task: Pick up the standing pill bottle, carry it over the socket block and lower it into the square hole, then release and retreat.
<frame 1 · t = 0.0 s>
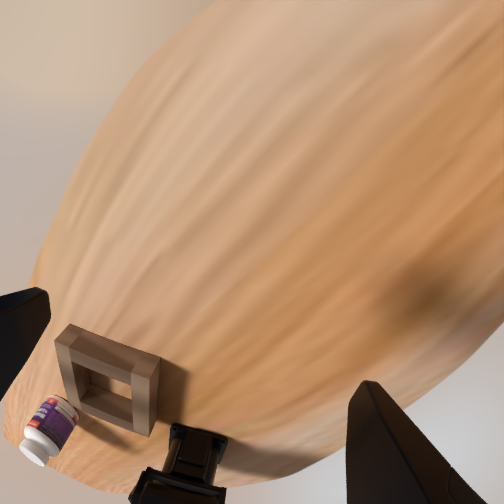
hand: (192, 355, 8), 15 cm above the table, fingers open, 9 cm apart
socket: (114, 375, 29), on the table
pill bottle: (64, 406, 34), on the table
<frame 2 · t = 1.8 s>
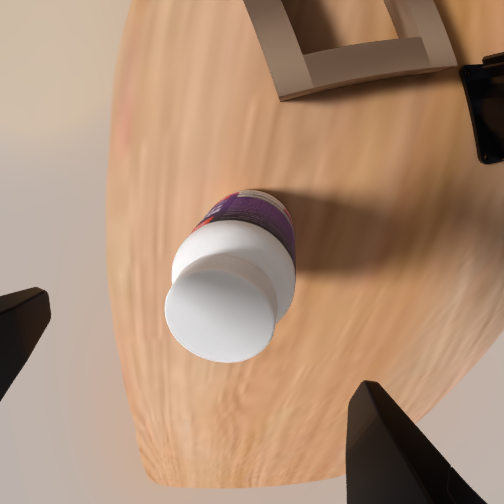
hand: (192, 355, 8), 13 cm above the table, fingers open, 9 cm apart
socket: (335, 8, 14), on the table
pill bottle: (250, 230, 20), on the table
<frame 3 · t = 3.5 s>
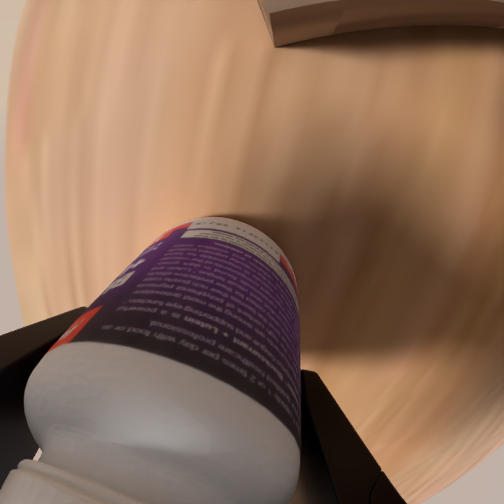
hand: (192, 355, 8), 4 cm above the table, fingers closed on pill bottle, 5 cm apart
pill bottle: (219, 286, 11), on the table, touching gripper
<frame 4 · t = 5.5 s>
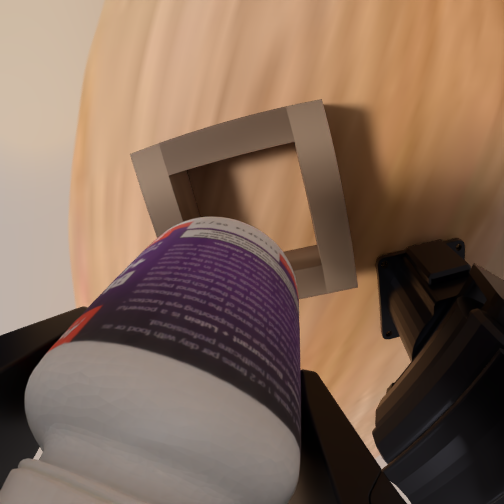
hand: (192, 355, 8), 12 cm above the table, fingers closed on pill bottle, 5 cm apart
socket: (252, 205, 19), on the table
pill bottle: (219, 286, 11), point 9 cm above the table, touching gripper
when the fingers open (4 cm above the table, at t = 7.9 s): pill bottle stays where it is, resting in socket.
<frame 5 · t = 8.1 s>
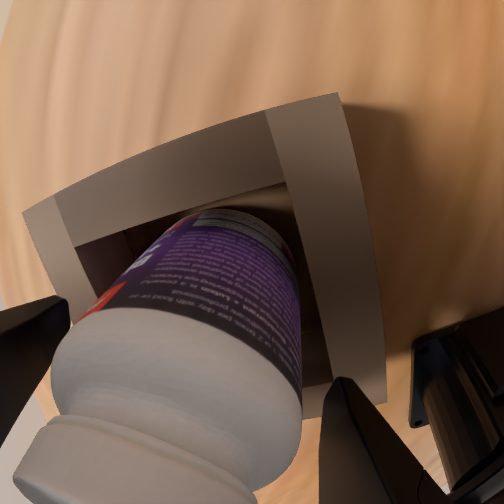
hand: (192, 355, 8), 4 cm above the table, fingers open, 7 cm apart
socket: (222, 276, 12), on the table
pill bottle: (225, 274, 12), resting in socket
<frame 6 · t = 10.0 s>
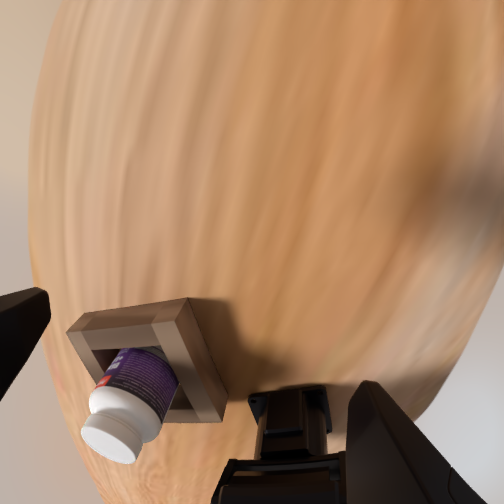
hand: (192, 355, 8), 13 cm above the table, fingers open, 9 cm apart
socket: (154, 357, 25), on the table
pill bottle: (155, 356, 25), resting in socket
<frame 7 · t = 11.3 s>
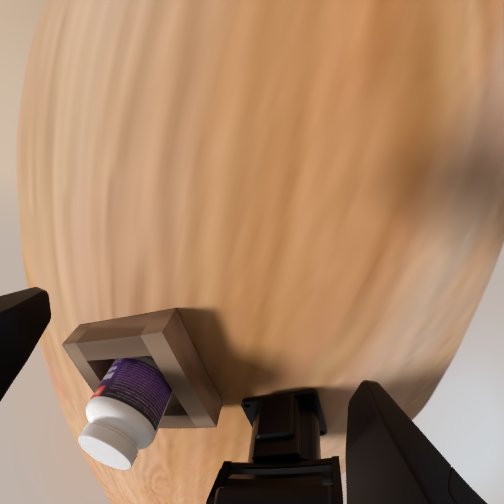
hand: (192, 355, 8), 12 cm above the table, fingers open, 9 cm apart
socket: (148, 365, 25), on the table
pill bottle: (150, 364, 25), resting in socket
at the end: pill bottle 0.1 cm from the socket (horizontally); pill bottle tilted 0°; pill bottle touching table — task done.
